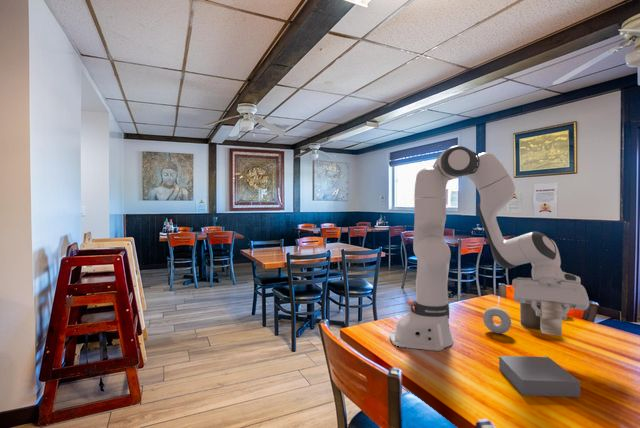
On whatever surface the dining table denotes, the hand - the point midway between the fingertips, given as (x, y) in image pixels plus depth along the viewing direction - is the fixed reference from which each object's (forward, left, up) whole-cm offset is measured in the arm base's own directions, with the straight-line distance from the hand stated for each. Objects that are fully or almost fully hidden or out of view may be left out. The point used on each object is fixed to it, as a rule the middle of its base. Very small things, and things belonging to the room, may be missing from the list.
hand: (551, 316), depth 104 cm
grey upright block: (0, +1, -5) cm, 5 cm away
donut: (-7, +23, -14) cm, 28 cm away
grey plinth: (-11, -13, -14) cm, 22 cm away
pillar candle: (+11, +32, -14) cm, 36 cm away
